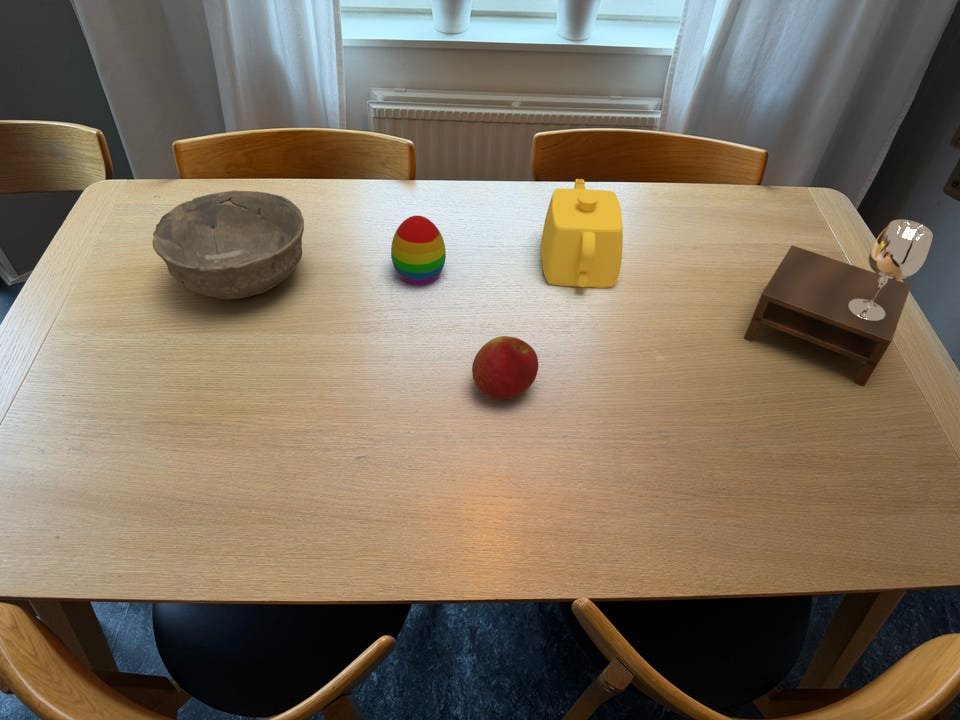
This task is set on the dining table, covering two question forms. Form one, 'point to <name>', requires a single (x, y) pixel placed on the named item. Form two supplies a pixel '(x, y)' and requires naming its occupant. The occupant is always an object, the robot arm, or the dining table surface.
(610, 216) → the teapot
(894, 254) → the wineglass
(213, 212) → the bowl
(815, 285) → the shelf
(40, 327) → the dining table surface
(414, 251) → the decorative egg
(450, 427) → the dining table surface
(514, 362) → the apple
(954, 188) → the robot arm
